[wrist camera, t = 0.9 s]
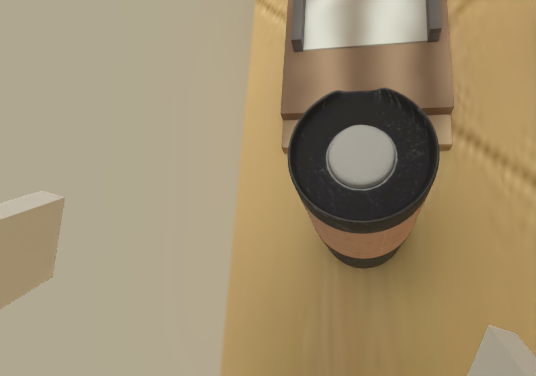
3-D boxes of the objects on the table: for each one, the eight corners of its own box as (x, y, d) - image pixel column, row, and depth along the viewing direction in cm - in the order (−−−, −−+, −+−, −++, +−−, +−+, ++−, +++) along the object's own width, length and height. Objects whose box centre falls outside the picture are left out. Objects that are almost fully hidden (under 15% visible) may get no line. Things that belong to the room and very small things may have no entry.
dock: (437, -43, 46) (445, -83, 42) (449, 150, 40) (460, 127, 35) (295, -27, 50) (288, -62, 45) (284, 153, 43) (274, 132, 39)
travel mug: (362, 289, 38) (361, 260, 19) (305, 229, 40) (255, 153, 22) (423, 231, 38) (479, 147, 19) (362, 175, 41) (359, 55, 22)
